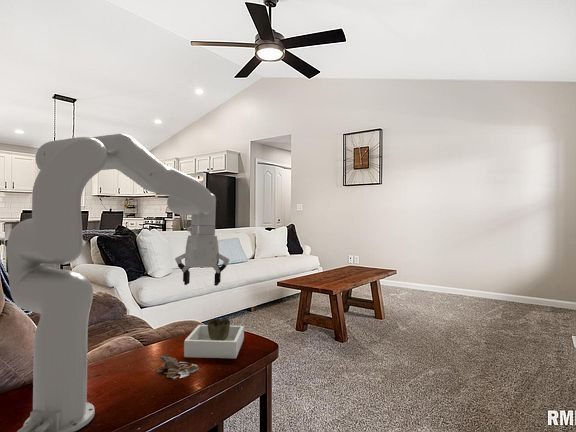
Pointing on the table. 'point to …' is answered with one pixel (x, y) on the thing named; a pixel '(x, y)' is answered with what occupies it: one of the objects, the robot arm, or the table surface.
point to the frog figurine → (176, 367)
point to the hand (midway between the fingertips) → (201, 284)
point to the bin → (213, 343)
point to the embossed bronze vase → (218, 329)
